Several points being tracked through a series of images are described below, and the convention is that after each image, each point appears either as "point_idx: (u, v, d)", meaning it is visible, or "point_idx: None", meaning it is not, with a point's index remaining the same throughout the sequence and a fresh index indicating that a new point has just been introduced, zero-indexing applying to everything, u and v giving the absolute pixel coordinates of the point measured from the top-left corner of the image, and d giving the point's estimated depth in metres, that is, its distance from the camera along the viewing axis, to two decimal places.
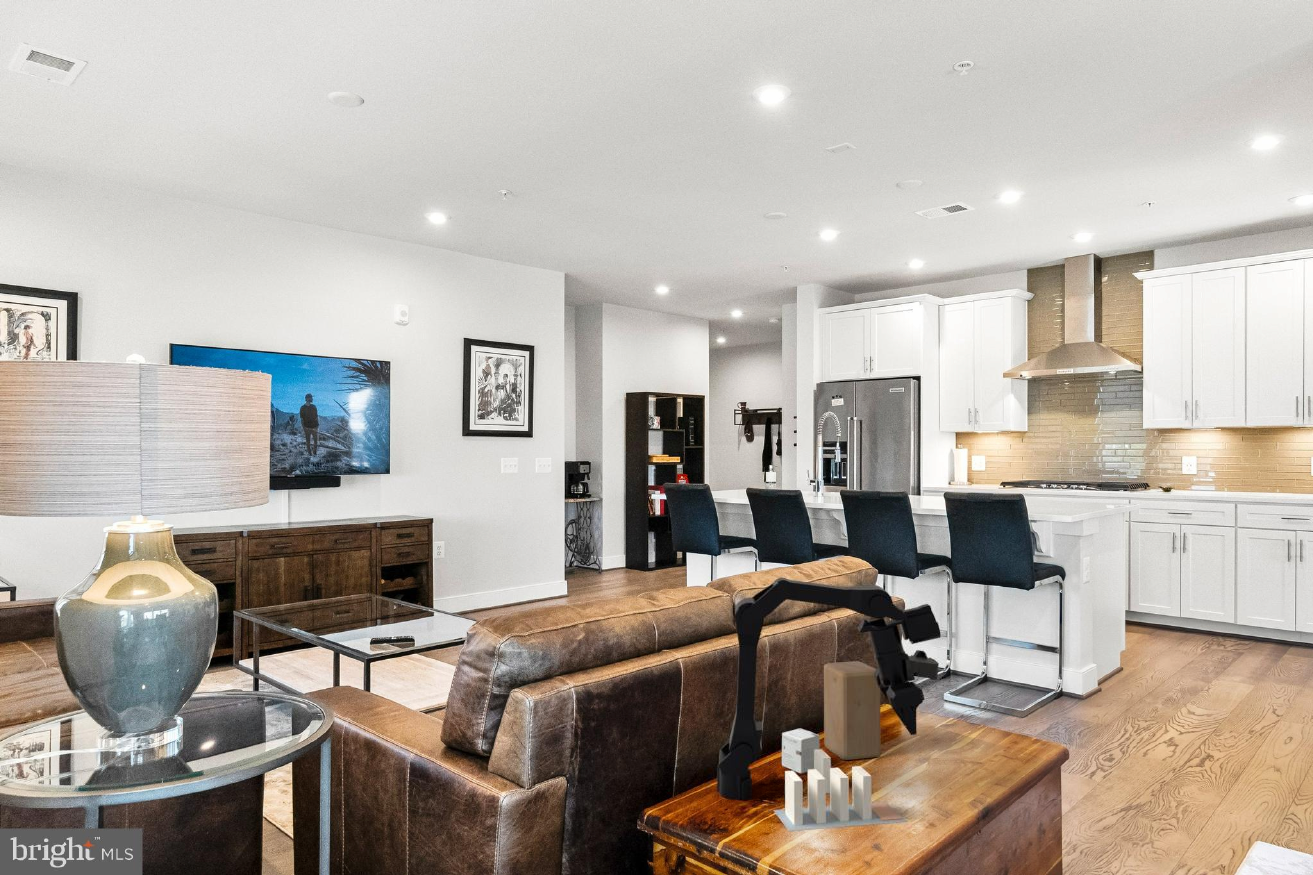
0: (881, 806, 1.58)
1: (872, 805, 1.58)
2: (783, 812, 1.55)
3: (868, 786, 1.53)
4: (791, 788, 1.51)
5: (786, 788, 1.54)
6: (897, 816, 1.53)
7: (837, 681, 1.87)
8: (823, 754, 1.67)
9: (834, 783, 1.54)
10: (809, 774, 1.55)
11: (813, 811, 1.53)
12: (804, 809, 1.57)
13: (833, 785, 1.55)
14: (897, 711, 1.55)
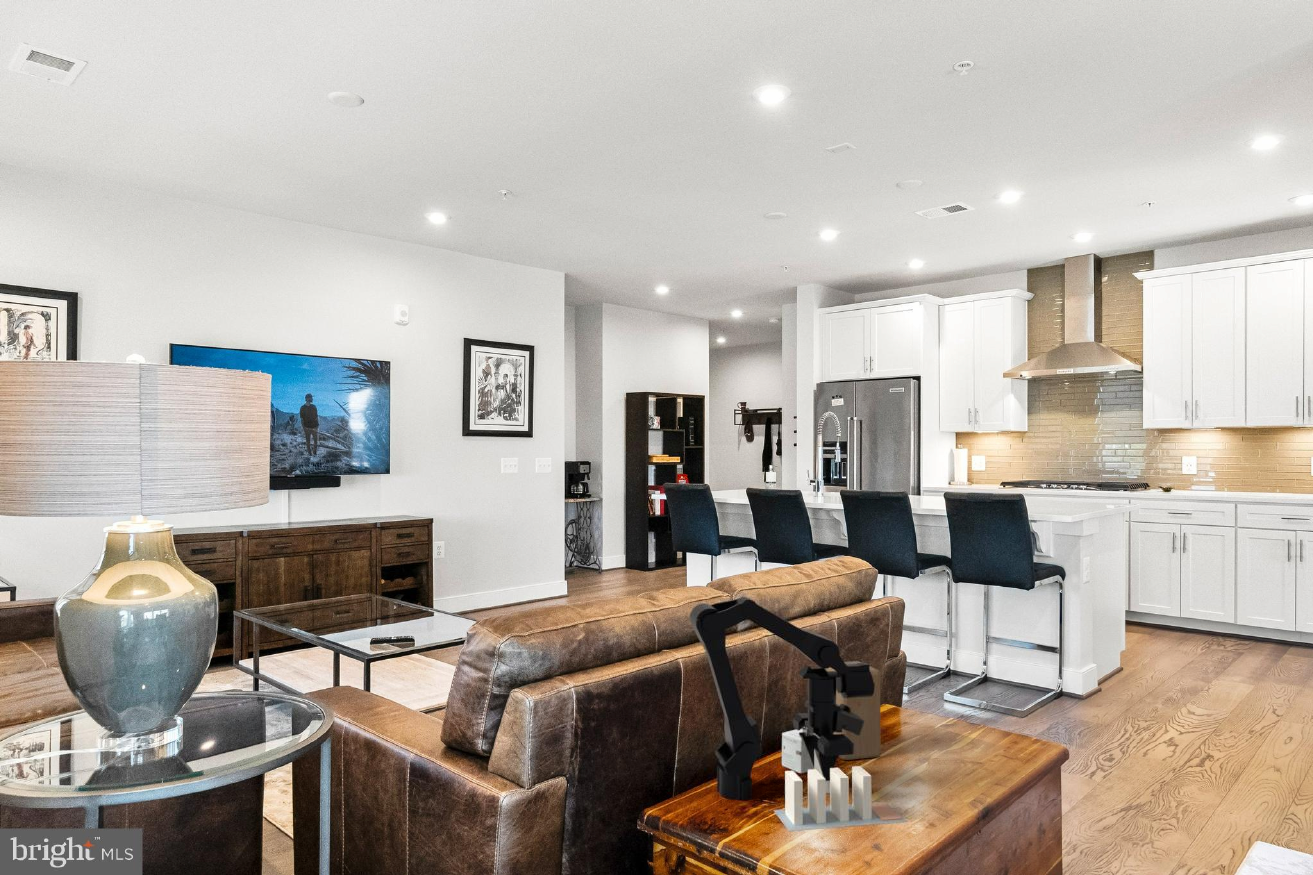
0: (881, 806, 1.58)
1: (872, 805, 1.58)
2: (783, 812, 1.55)
3: (868, 786, 1.53)
4: (791, 788, 1.51)
5: (786, 788, 1.54)
6: (897, 816, 1.53)
7: None
8: None
9: (834, 783, 1.54)
10: (809, 774, 1.55)
11: (813, 811, 1.53)
12: (804, 809, 1.57)
13: (833, 785, 1.55)
14: (820, 756, 1.63)
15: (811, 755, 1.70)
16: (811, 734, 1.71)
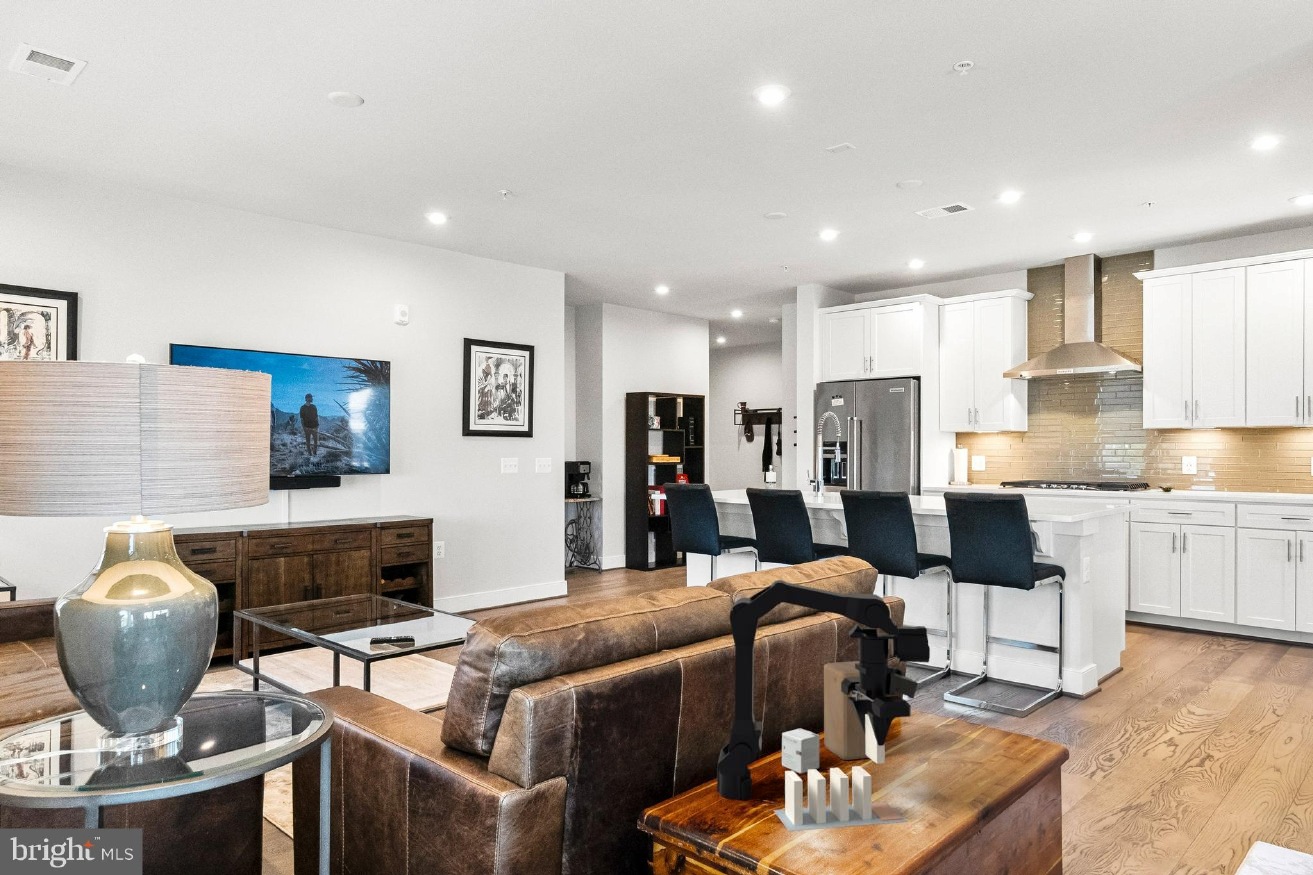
0: (881, 806, 1.58)
1: (872, 805, 1.58)
2: (783, 812, 1.55)
3: (868, 786, 1.53)
4: (791, 788, 1.51)
5: (786, 788, 1.54)
6: (897, 816, 1.53)
7: (837, 681, 1.87)
8: None
9: (834, 783, 1.54)
10: (809, 774, 1.55)
11: (813, 811, 1.53)
12: (804, 809, 1.57)
13: (833, 785, 1.55)
14: (874, 720, 1.55)
15: (862, 720, 1.63)
16: (861, 698, 1.64)
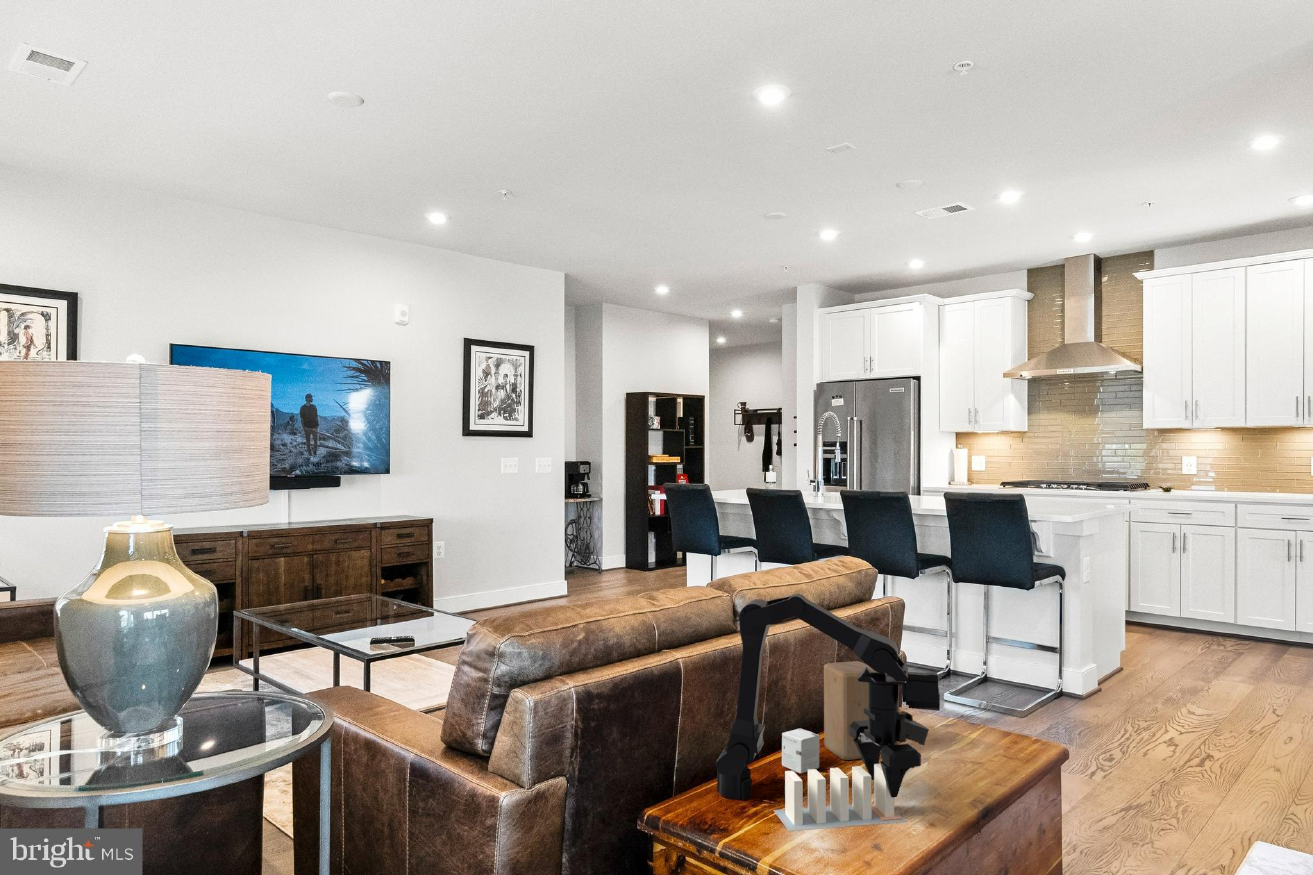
0: None
1: (872, 805, 1.58)
2: (783, 812, 1.55)
3: (868, 786, 1.53)
4: (791, 788, 1.51)
5: (786, 788, 1.54)
6: (897, 816, 1.53)
7: (837, 681, 1.87)
8: None
9: (834, 783, 1.54)
10: (809, 774, 1.55)
11: (813, 811, 1.53)
12: (804, 809, 1.57)
13: (833, 785, 1.55)
14: (887, 771, 1.50)
15: (867, 763, 1.60)
16: (867, 741, 1.61)
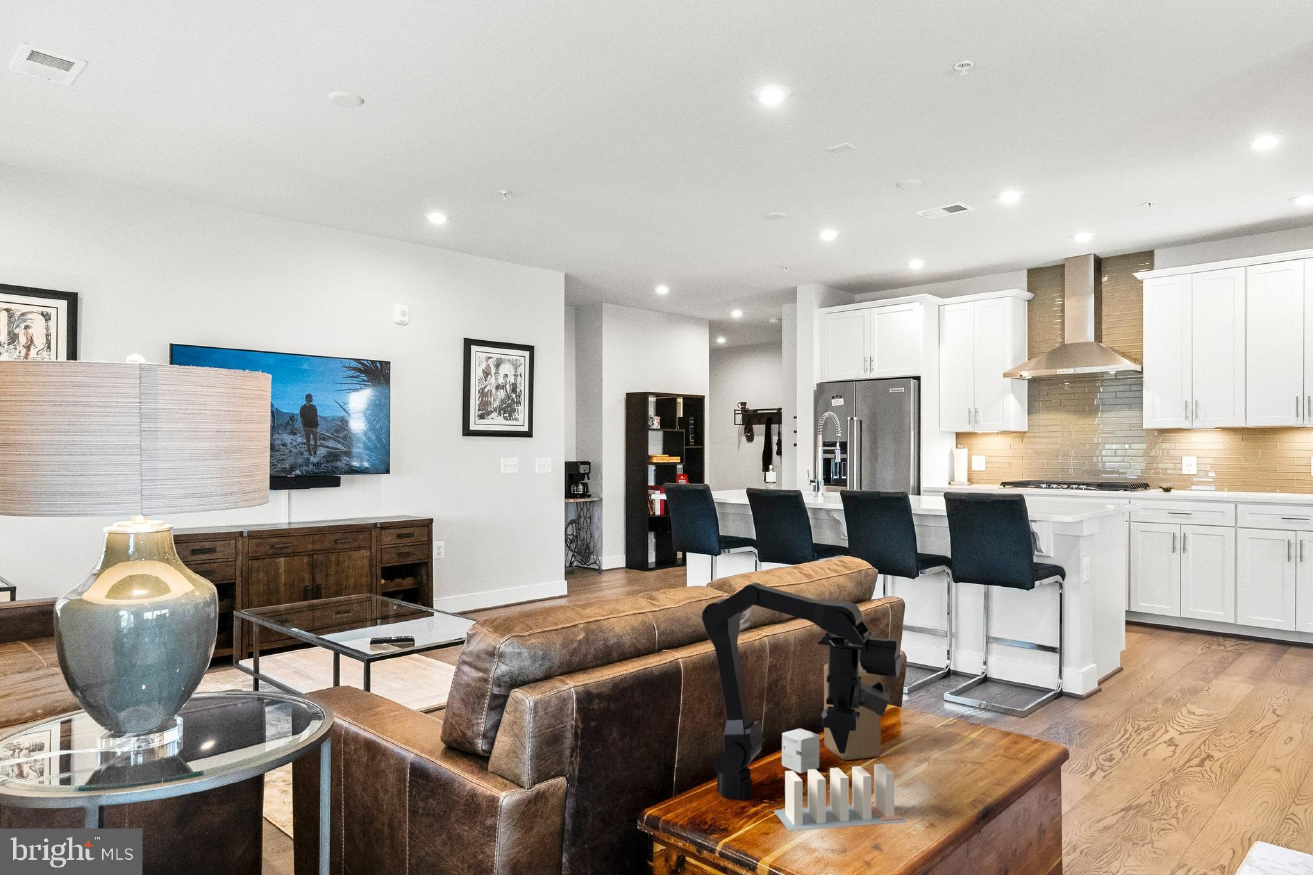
0: None
1: (872, 805, 1.58)
2: (783, 812, 1.55)
3: (868, 786, 1.53)
4: (791, 788, 1.51)
5: (786, 788, 1.54)
6: (897, 816, 1.53)
7: None
8: (885, 769, 1.55)
9: (834, 783, 1.54)
10: (809, 774, 1.55)
11: (813, 811, 1.53)
12: (804, 809, 1.57)
13: (833, 785, 1.55)
14: None
15: None
16: None
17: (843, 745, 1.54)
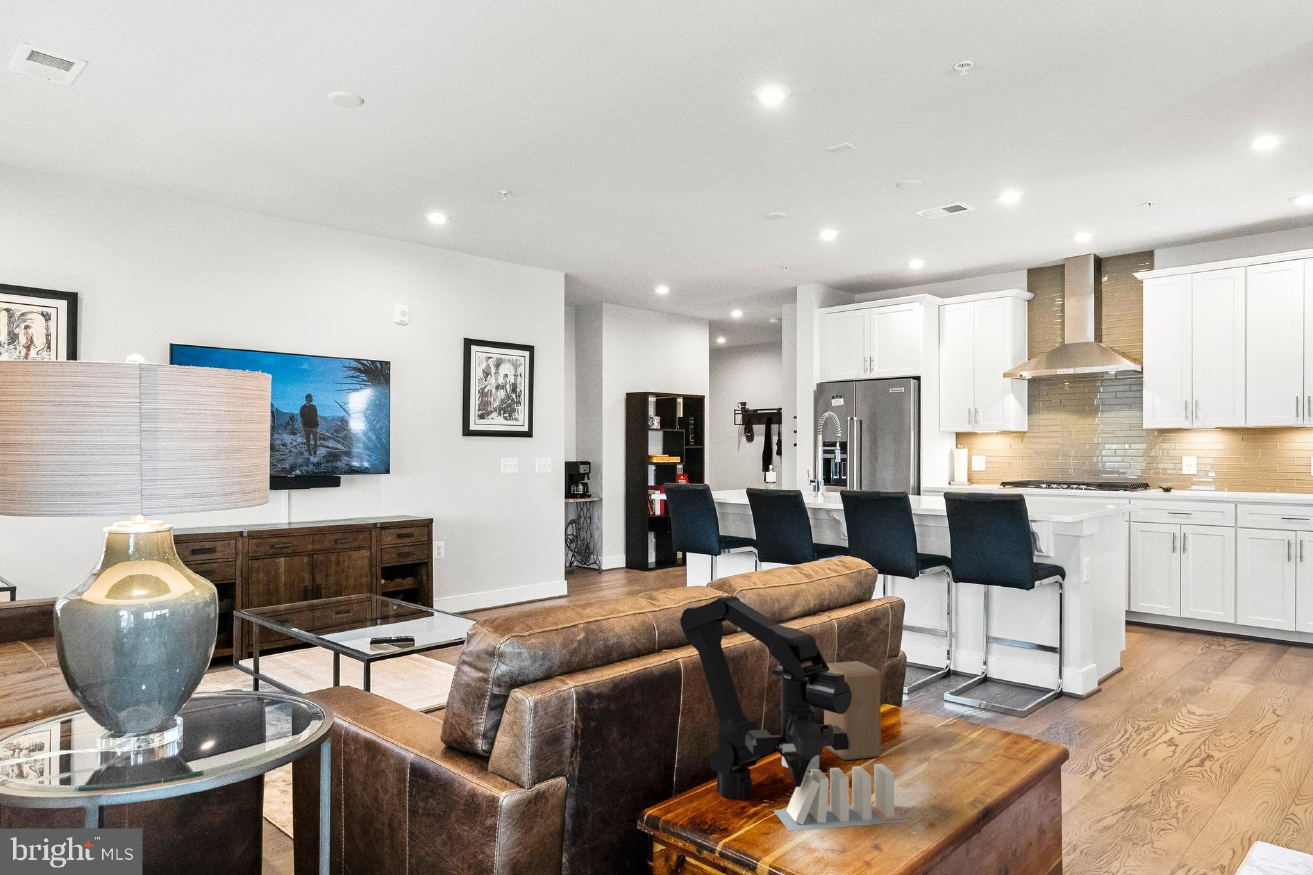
0: None
1: (872, 805, 1.58)
2: (783, 812, 1.55)
3: (868, 786, 1.53)
4: (806, 786, 1.52)
5: None
6: (897, 816, 1.53)
7: None
8: (885, 769, 1.55)
9: (834, 783, 1.54)
10: (812, 773, 1.55)
11: (813, 811, 1.53)
12: None
13: (833, 785, 1.55)
14: None
15: None
16: None
17: (793, 777, 1.52)
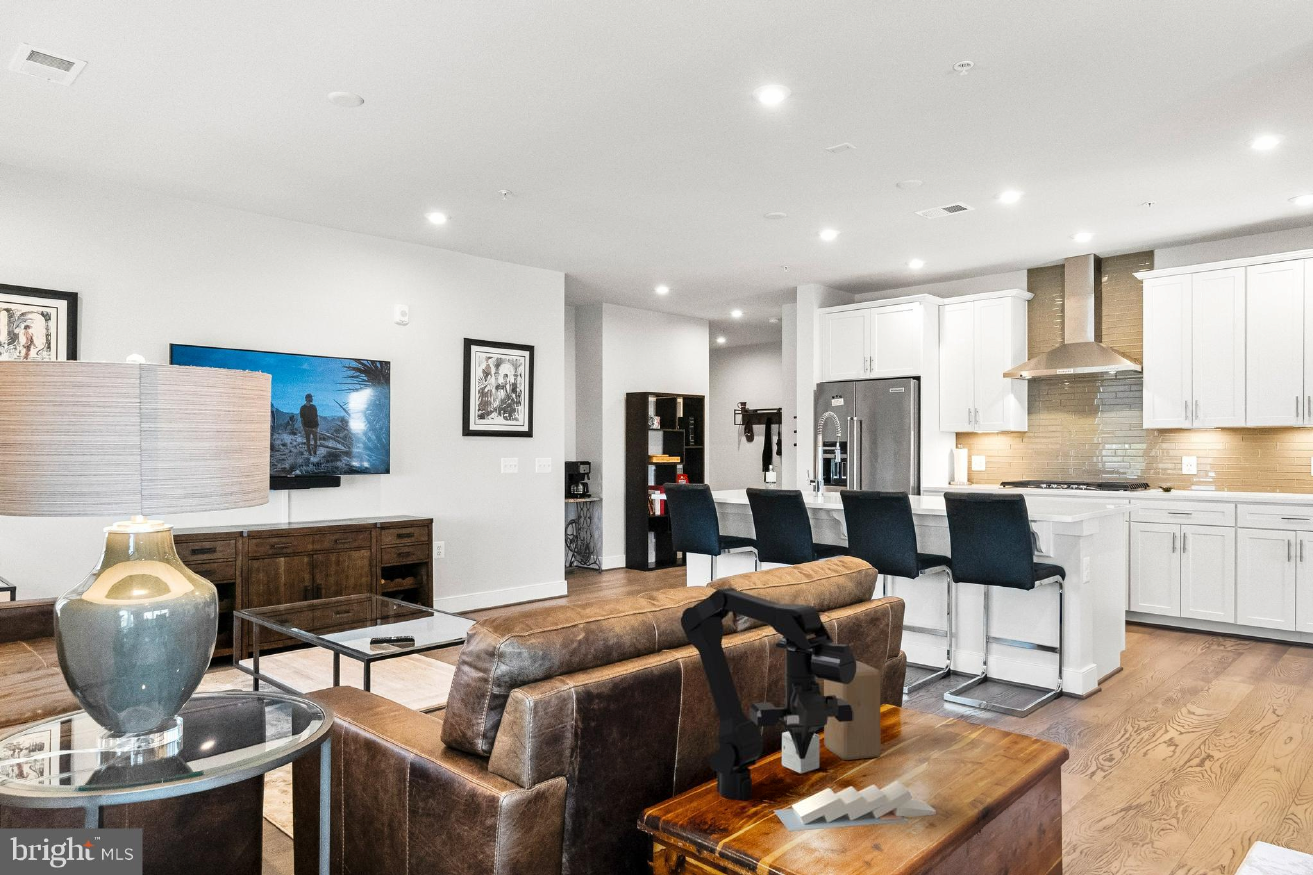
0: None
1: None
2: (783, 812, 1.55)
3: (902, 800, 1.54)
4: (827, 799, 1.53)
5: (816, 795, 1.55)
6: (897, 816, 1.53)
7: None
8: None
9: (869, 793, 1.55)
10: (850, 789, 1.56)
11: None
12: None
13: (865, 793, 1.56)
14: None
15: None
16: None
17: (797, 749, 1.53)
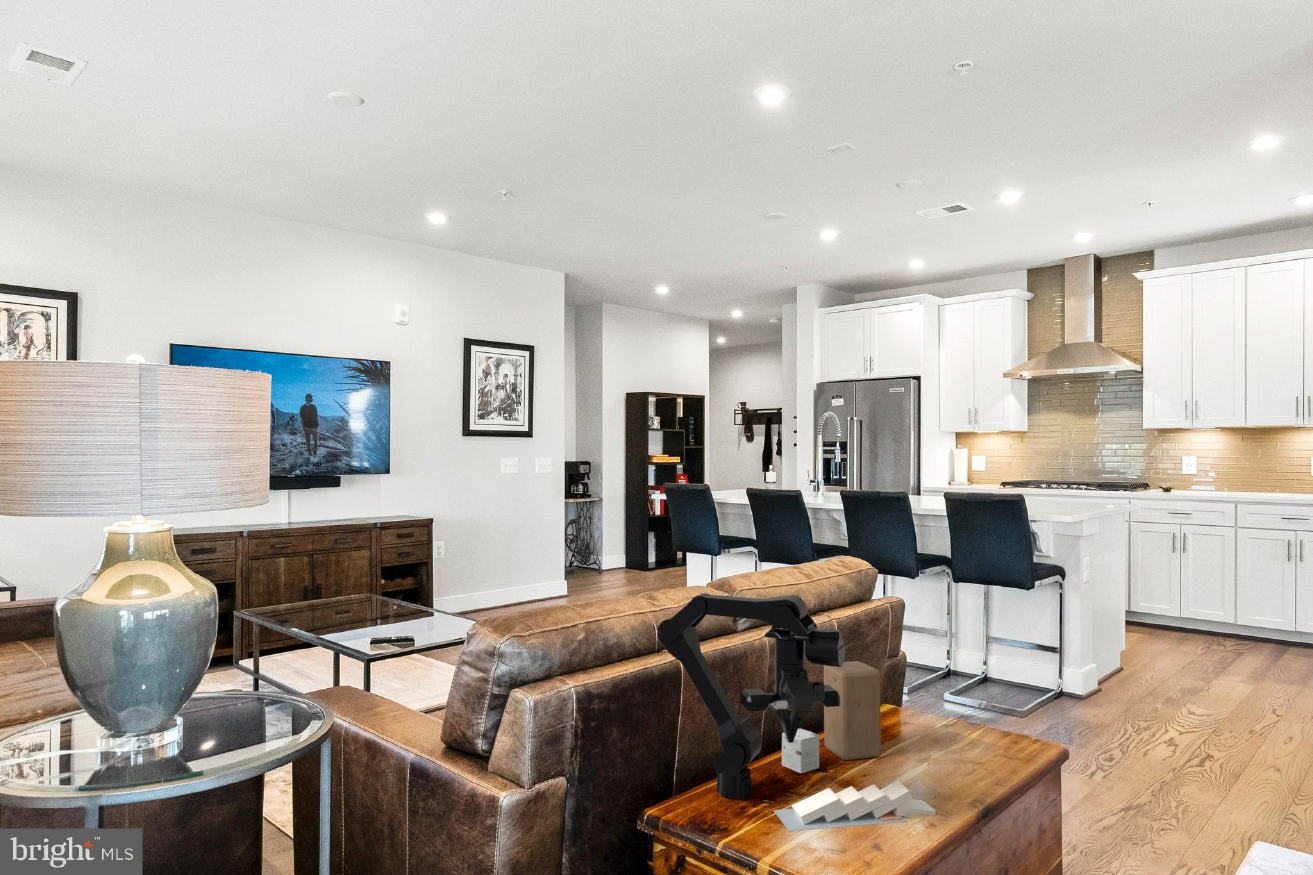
0: None
1: None
2: (783, 812, 1.55)
3: (902, 800, 1.54)
4: (827, 799, 1.53)
5: (816, 795, 1.55)
6: (897, 816, 1.53)
7: (837, 681, 1.87)
8: None
9: (869, 793, 1.55)
10: (850, 789, 1.56)
11: None
12: None
13: (865, 793, 1.56)
14: None
15: None
16: None
17: (786, 733, 1.59)
